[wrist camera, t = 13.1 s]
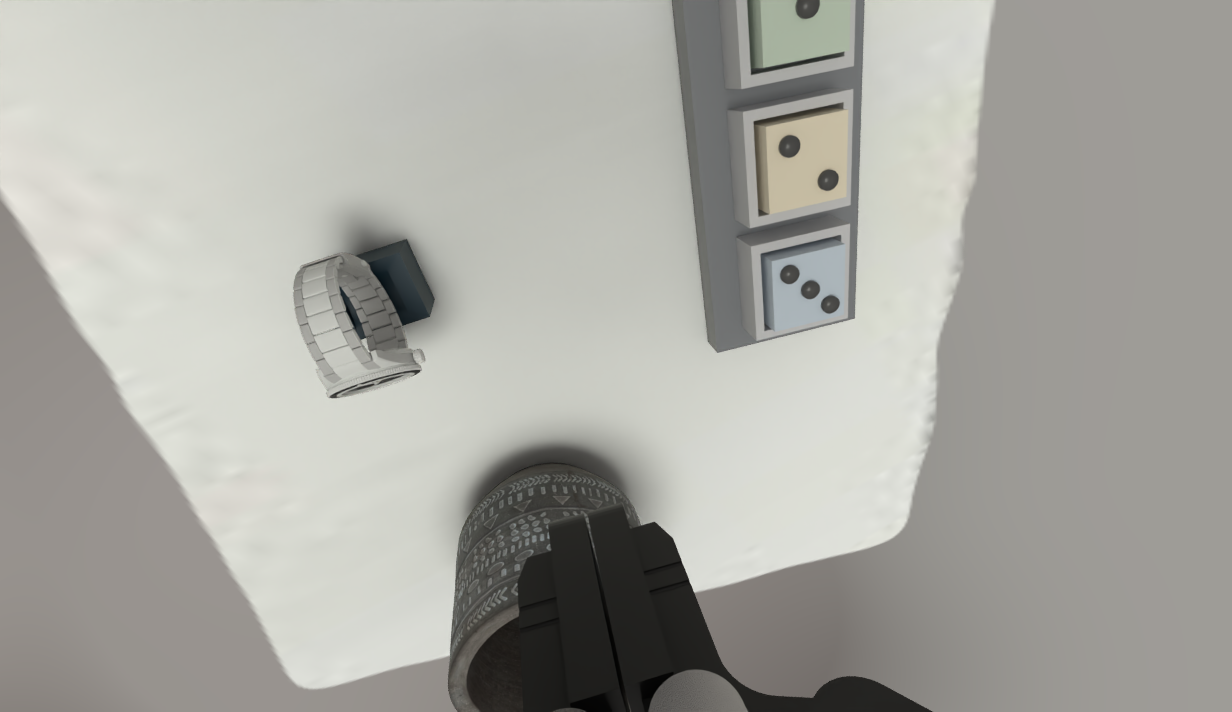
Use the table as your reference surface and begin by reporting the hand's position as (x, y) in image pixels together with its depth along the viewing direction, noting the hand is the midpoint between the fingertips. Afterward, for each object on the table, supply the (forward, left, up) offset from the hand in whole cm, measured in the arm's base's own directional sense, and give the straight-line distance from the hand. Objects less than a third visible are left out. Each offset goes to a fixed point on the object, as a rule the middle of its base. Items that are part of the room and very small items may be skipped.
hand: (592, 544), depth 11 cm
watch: (+2, -10, -29) cm, 31 cm away
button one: (-9, +17, -27) cm, 33 cm away
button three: (+7, +17, -27) cm, 33 cm away
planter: (+24, -4, -29) cm, 38 cm away
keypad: (-1, +17, -29) cm, 34 cm away
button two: (-1, +17, -27) cm, 32 cm away
